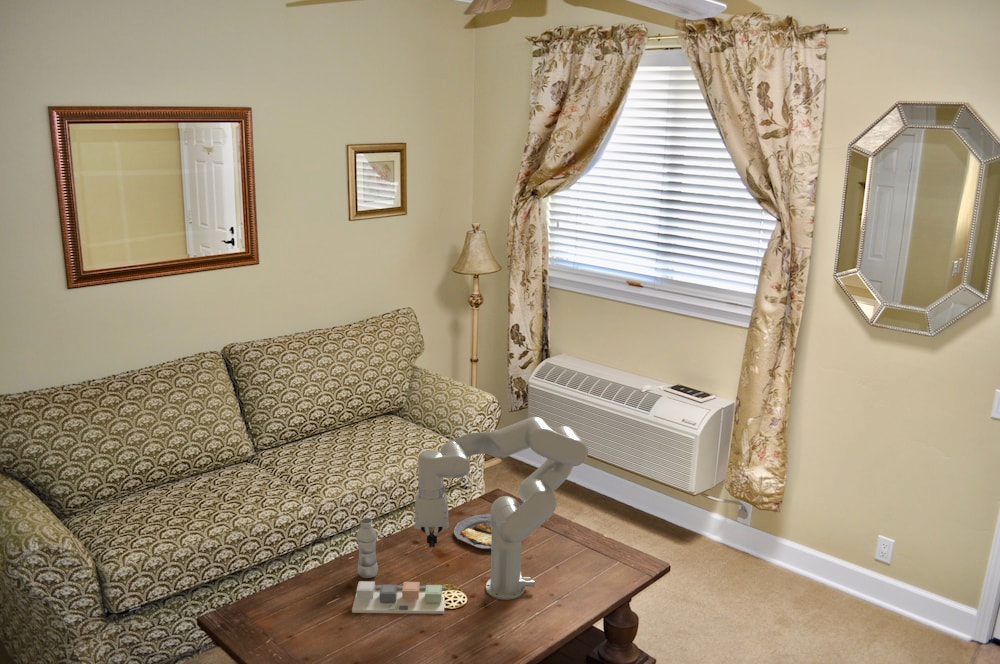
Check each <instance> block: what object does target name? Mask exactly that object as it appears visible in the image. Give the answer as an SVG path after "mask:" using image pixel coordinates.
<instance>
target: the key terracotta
mask: <svg viewBox="0 0 1000 664" xmlns="http://www.w3.org/2000/svg"><path fill="white" fill-rule="evenodd" d="M420 582H421V581H403V583H402V586H403V589H402V599H408V600H419V593H420V586H421V583H420Z"/></svg>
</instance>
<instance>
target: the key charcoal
mask: <svg viewBox="0 0 1000 664" xmlns="http://www.w3.org/2000/svg"><path fill="white" fill-rule="evenodd" d="M380 585H381V589H380V593H379V596H380V602H396V599H397V593H398V588H397V585H398V584H393V583H392V584H387V583H384V584H383V583H382V584H381V583H380Z"/></svg>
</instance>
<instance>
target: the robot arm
mask: <svg viewBox="0 0 1000 664" xmlns="http://www.w3.org/2000/svg"><path fill="white" fill-rule="evenodd" d="M528 449H531V450H532V452H533V453H535V454H536V455H539V456H540V457H543V458H545V459H546V460H545V461H544V462H543V463H542V464H541V465H540V466H539V467H538V468H536V469H535V471H533V472H532V473H531V474H530V475H528V476H527V477H526V478H525V479H524V480H523V481H522V482H520V484H519V486H518V496H519V498H520V500H521V501H522V504H520V503H519V501H517V499H515V498H514V497H512V496H509V495H504V496H503V495H502V496H499V497H498V498H496V499H495V500H494V502H493V503H492V505H491V507H490V512H489V514H490V520H491V524H490V525H491V526H490V527H491V533H492V544H491V549H490V578H489V579H488V580H487V581H486V584H485V591H486V593H487V594H488V595H489V596H490V597H492V598H495V599H498V600H502V601H503V600H504V601H506V600H507V601H509V600H515V599H518V598H520V597H521V596H523V594H525V593H524V592H525V590H526V587H531V588H533V587H535V586H536V585H535V584H536V582H535V580H532V579H531V577H530V576H522V571H521V570H522V569H521V567H522V545H523V544H522V543H523V541H524V540H525V539H526V538H528V537H529V536H531V535H532V534H533V533H534V532H535V531H536V530H538V529H540V527H541V526H543V524H544V523H546V522H547V521H548V520H549V519H551V517H552V516H553V514H554V513H555V511H556V509H557V506H558V505H557V504H558V502H557V501H558V500H557V497H556V494H555V493H554V492H556V490H557V489H558V488H559V487H560V486H561V485H562V484H563V483H564V482H565V481H566V480H567V479H568V478H569V476H570V475H571V472H572V471H573V468H574V467H578V466H580V465H582V464H584V463H585V462H586V460H587V459H588V455H589V449H588V447H587V444H586V443H585V442H584V440H582V439H581V437H580V436H579V435H578V433H576V431H575V430H574V429H573V428H571V427H569V426H567V425H561V426H558V427H556V428H555V430H553V429H552V428H551V427H550V425H549V424H548V423H547V422H546V421H545V420H544V419H543V418H541V417H538V416H531V417H528V418H526V419H523V420H520V421H518V422H515V423H512V424H510V425H507V426H505V427H502V428H499V429H497V430H493V431H480V432H471V433H467V434H464V435H461V436H458V437H455V438H453V439H451V440H448V441H447V442H446V443H444V444H443V445H442V446H441V448H440V450H439V451H437V450H432V449H431V450H424V451H422V452H420V453H419V455H418V457H417V475H418V476H417V477H418V478H417V479H418V480H417V481H418V492H417V493H416V495H415V502H414V525H413V527H414V529H415V530H421V531H422V533H424V534H425V535H426V544H429V546H428V547H429V548H435V546H436V544H438V534H439V533H441V532H442V530H447V529H449V528H450V523H449V505H448V504H449V502H448V497H447V492H449V487H447V486H445V485H444V478H447V479H448V478H450V479H460V478H464V477H465V476H467V475H468V474H469V472H470V470H471V462H470V459H469V458H468V457H471V456H475V455H481V454H482V455H484V454H485V455H491V456H494V457H498V458H504V459H505V458H508V457H510V456H512V455H515V454H517V453H520V452H523V451H525V450H528ZM431 528H433V530H431Z"/></svg>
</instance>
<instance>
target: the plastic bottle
mask: <svg viewBox="0 0 1000 664" xmlns="http://www.w3.org/2000/svg"><path fill="white" fill-rule="evenodd" d="M359 526H360V528H359V529H358V530H357V532H356V536H355V537H356V542H357V546H358V547H357V549H358V563H357V574H358V575H359V576H360V577H361V578H363V579H372V578H374V577H376V576H377V574H378V573H379V572H378V571H379V564H378V562H377V561H378V560H377V554H376V552H377V551H376V549H377V548H376V546H377V538H378V537H377V536H378V535H377V531H376V530H375V529H374V528H373V519H372V518H369V517H366V518H365V517H364V518H362V519H360V525H359Z"/></svg>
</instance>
